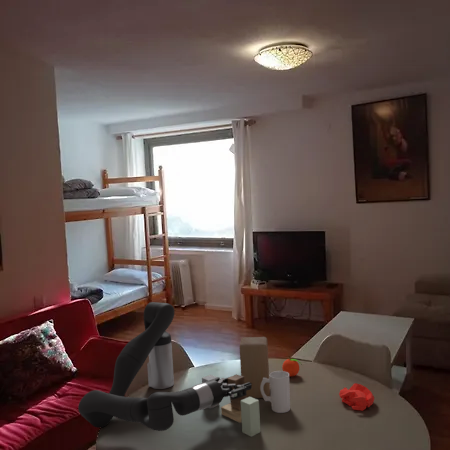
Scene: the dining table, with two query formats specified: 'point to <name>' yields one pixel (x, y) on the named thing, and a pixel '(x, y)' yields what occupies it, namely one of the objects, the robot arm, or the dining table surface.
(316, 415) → the dining table surface
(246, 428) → the sage post
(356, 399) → the animal figurine
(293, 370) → the clementine
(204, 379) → the grey post
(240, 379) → the walnut post
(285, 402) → the mug
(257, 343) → the wooden block
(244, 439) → the dining table surface
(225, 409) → the oak slab
